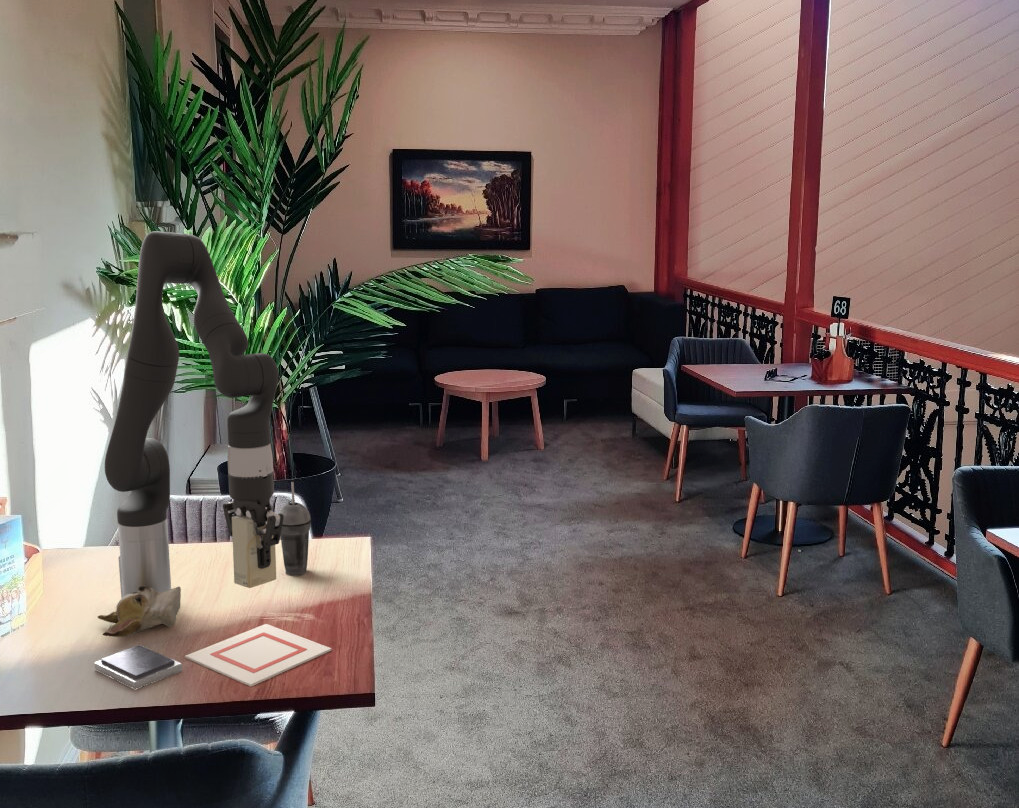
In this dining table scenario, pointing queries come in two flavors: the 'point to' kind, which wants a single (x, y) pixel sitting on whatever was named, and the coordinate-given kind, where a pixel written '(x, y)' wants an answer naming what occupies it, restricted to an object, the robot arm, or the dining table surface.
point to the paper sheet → (258, 654)
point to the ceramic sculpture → (143, 611)
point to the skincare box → (249, 555)
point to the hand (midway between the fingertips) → (255, 563)
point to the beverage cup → (295, 537)
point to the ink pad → (138, 666)
